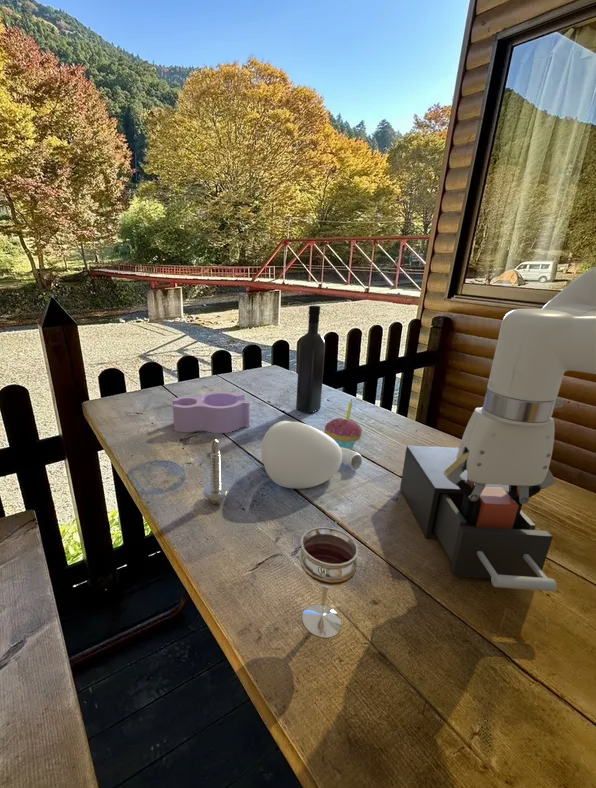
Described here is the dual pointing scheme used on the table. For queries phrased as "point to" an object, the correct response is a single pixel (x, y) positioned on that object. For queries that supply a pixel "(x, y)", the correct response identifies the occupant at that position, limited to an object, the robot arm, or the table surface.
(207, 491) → the screw
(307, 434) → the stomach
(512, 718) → the table surface
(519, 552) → the drawer
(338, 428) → the cupcake
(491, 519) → the block
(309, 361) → the wine bottle
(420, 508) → the cabinet
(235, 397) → the clip
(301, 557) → the wineglass
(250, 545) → the table surface
